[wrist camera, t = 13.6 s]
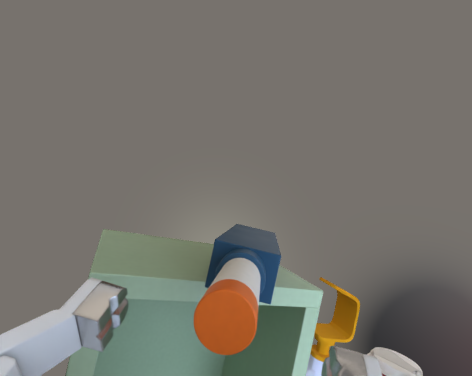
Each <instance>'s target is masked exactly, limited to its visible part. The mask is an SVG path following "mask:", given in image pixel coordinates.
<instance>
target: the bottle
mask: <svg viewBox="0 0 472 376" xmlns="http://www.w3.org/2000/svg"><path fill="white" fill-rule="evenodd" d="M280 259H281V253H280V250H279V246H278V243H277V239H276V235H275V233H273V232H269V231H264V230H260V229H256V228H252V227H248V226H243V225H239V224H236V225H235V226H234V227H232V228H231V229H229V230H228V231H227V232H225V233H224V234H222V235H221V236H219V237H218V238H217V239H215V242H214V247H213V251H212V256H211V260H210V265H209V269H208V274H207V278H206V283H205V287H206V288H208V290H207V291H206V293H205V294H204V296H203V297H202V299H201V300H200V301H199V303H198V305H197V307H196V309H195V312H194V321H193V322H194V329H195V332H196V335H197V337H198V339H199V340H200V342H201V343H202V344H203V345H204V346H205V347H206V348H207V349H209V350H210V351H212V352H214V353H216V354H220V355H233V354H236V353H239V352H241V351H243V350H244V349H246V348H247V347H248V346H249V345H250V343H251V342H252V340H253V339H254V337H255V334H256V330H257V321H258V307H259V302H262V303H266V304H270V305H271V301H272V297H273V292H274V287H275V283H276V278H277V273H278V269H279V264H280Z"/></svg>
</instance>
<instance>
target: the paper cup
mask: <svg viewBox="0 0 472 376" xmlns="http://www.w3.org/2000/svg"><path fill="white" fill-rule="evenodd" d="M367 355H368V356H372V357H375V358H377V360H378V361H379V365H380V369H381V373H382V376H423V372H422V370H421V368H420V367H419V366H418V365H417V364H416V363H415V362H413V361H412V360H411V359H409V358H407V357H406V356H404V355H402V354H400V353H398V352H395V351H393V350H390V349H386V348H380V347H378V348H374V349H373V350H371V353H368V354H367Z"/></svg>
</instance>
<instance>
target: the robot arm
mask: <svg viewBox="0 0 472 376" xmlns="http://www.w3.org/2000/svg"><path fill="white" fill-rule="evenodd" d="M127 294H128V292H127V288H125V287H122V286H119V285H115V284H112V283H109V282H105V281H102V280H99V279H95V278H92V277H91V278H90V279H88V280H87V281H86V282H85V283H84V284H83V285H82V286H81V287H80V288H79V289H78V290H77V291H76V292H75V293H74V294H73V295H72V297H70V299H69V300H68V301H67V302H66V303H65V304H64V305H63V306H62V307H61V308H60V309H59V310H56V309H55V310H52V311H50V312H48V313H46V314H44V315H42V316H39V317H37V318H35V319H33V320H31V321H29V322H27V323H25V324H22V325H20V326H18V327H16V328H14V329H12V330H9V331H7V332H5V333H3V334H1V335H0V376H41V375H43V374H44V373H46V372H47V371H48V370H50V369H51V368H53V367H54V366H56V365H57V364H59V363H60V362H62V361H63V360H65V359H66V358H67V357H69V356H70V355H72V354H73V353H75V352H76V351H78V350H79V349H81V348H82V346H83V347H86V348H90V349H93V350H97V351H101V352H103V351H104V349H105V348H106V346H107V345H108V343H109V342H110V340H111V339H112V337H113V329H115V328H117V327H118V326H120V325H121V323H122V322H123V320H124V319H125V316H126V314H127V311H128V306H129V305H128V300H127V299H126V298H125V297H126V296H127ZM321 376H382V373H381V369H380V365H379V361H378V360H377V358H375V357H372V356H368V355H365V354H361V353H359V352H355V351H351V350H348V349H344V348H340V347H336V346H332V347H331V348H330V350H329V357H327V358H325V360H324V363H323V366H322V372H321Z"/></svg>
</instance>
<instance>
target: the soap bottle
mask: <svg viewBox="0 0 472 376" xmlns="http://www.w3.org/2000/svg"><path fill="white" fill-rule="evenodd" d="M320 280H321V281H323V282H325V283H326V284H328V285H330V286H331V287H333V288H335V289H336V290H337V293H338V294H337V296H338V297H337V301H336V306H335V311H334V316H333V319H332V321H331V322H330V323H329V324H321V323H317V324H316V329H315V334H314V335H315V339H316V340H317V341H318V342H317V345H312V348H311V353H310V357H309V362H308V367H307V372H306V376H321V372H322V366H323V363H324V360H325V358H327V357H329V348H330V346H334V345H335V342H350V341H351V340H352V339H353V336H354V334H355V329H356V324H357V319H358V314H359V309H360V302H359V300H358V299H357V298H356V297H355V296H353V295H352V294H350V293H348V292H346V291H345V290H343V289H341V288H339V287H338V286H336V285H334V284H332V283H330V282H329V281H327V280H325V279H323V278H322V277H321V278H320Z"/></svg>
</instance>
